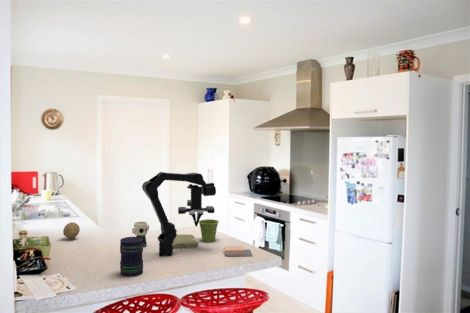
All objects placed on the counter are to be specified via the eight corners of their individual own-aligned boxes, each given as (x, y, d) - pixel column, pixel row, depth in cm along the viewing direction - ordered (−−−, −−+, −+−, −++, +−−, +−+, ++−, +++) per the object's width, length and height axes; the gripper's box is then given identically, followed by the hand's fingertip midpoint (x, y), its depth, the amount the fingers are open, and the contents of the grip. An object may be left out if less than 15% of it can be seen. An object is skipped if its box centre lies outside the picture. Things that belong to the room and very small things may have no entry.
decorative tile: (192, 239, 236) (193, 233, 236) (198, 248, 216) (198, 241, 216) (161, 241, 231) (161, 235, 231) (164, 250, 211) (164, 244, 211)
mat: (227, 256, 200) (227, 256, 200) (225, 250, 210) (225, 249, 210) (252, 256, 201) (252, 255, 201) (250, 250, 212) (250, 249, 212)
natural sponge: (79, 240, 228) (79, 223, 228) (62, 242, 225) (62, 224, 224) (79, 237, 237) (79, 220, 236) (63, 238, 233) (63, 221, 233)
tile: (225, 250, 201) (244, 250, 202) (224, 246, 209) (243, 245, 210) (225, 255, 201) (244, 254, 202) (224, 250, 209) (243, 250, 210)
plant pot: (194, 240, 231) (194, 221, 231) (210, 237, 239) (210, 218, 238) (206, 244, 222) (206, 224, 222) (222, 241, 230) (223, 221, 230)
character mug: (136, 249, 211) (136, 225, 211) (128, 247, 216) (128, 223, 215) (152, 245, 219) (152, 222, 219) (145, 243, 224) (145, 220, 223)
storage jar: (120, 277, 169) (119, 243, 168) (120, 270, 178) (119, 237, 178) (144, 275, 172) (144, 241, 171) (142, 268, 181) (142, 236, 180)
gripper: (211, 194, 219) (211, 222, 219) (177, 194, 215) (177, 223, 216) (214, 197, 208) (214, 226, 208) (178, 198, 204) (178, 228, 205)
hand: (196, 226), depth 210 cm, fingers closed
